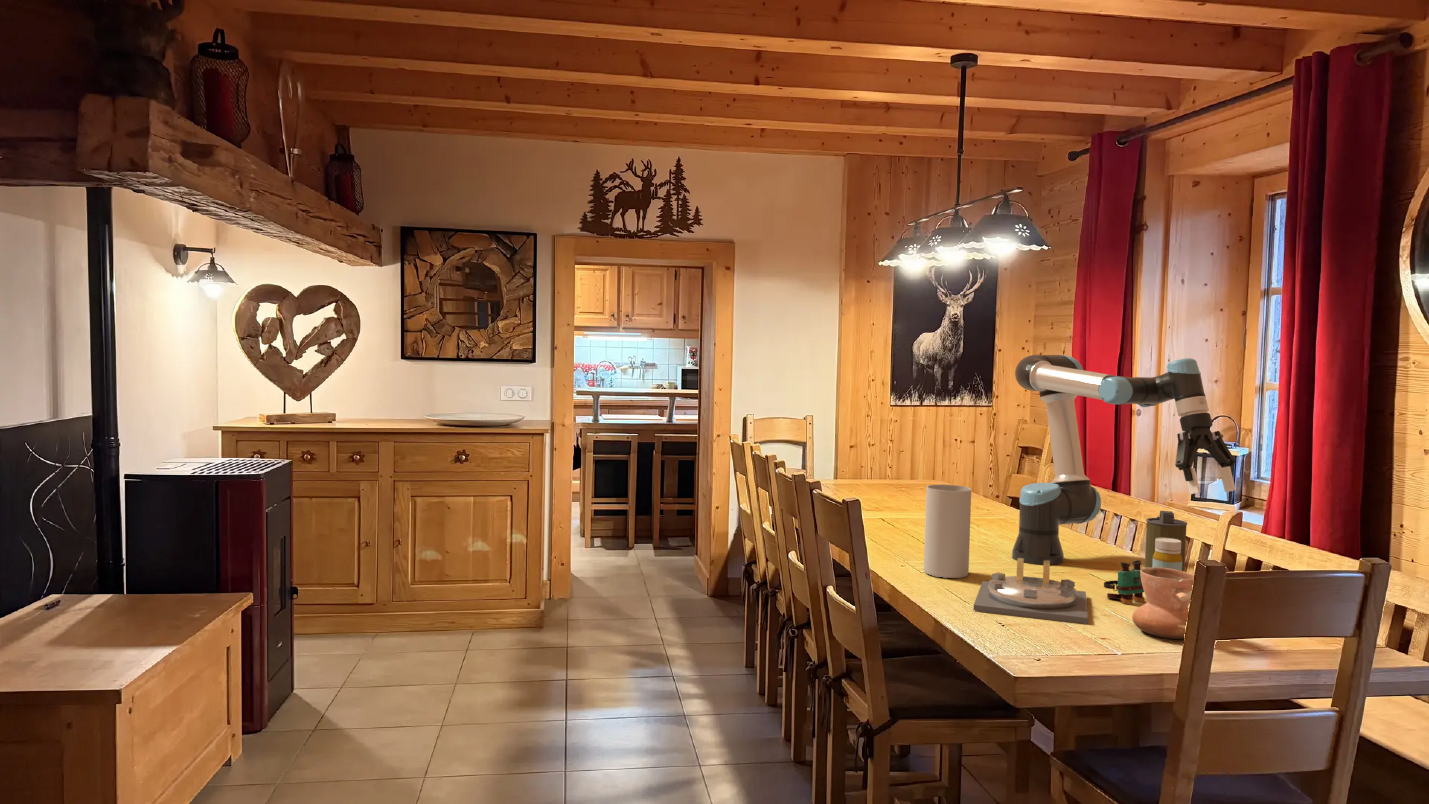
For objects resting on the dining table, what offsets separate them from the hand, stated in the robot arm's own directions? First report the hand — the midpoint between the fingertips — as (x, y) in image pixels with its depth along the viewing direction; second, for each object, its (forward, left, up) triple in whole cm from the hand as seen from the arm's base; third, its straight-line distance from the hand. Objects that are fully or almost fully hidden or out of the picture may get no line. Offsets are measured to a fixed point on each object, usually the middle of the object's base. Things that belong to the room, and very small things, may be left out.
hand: (1212, 492), depth 239 cm
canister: (-11, -10, -28) cm, 32 cm away
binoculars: (+15, -22, -28) cm, 38 cm away
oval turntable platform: (+30, -44, -26) cm, 59 cm away
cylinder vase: (+7, -68, -28) cm, 74 cm away
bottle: (+6, -11, -28) cm, 30 cm away
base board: (+30, -44, -28) cm, 60 cm away
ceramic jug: (+42, -14, -28) cm, 53 cm away
